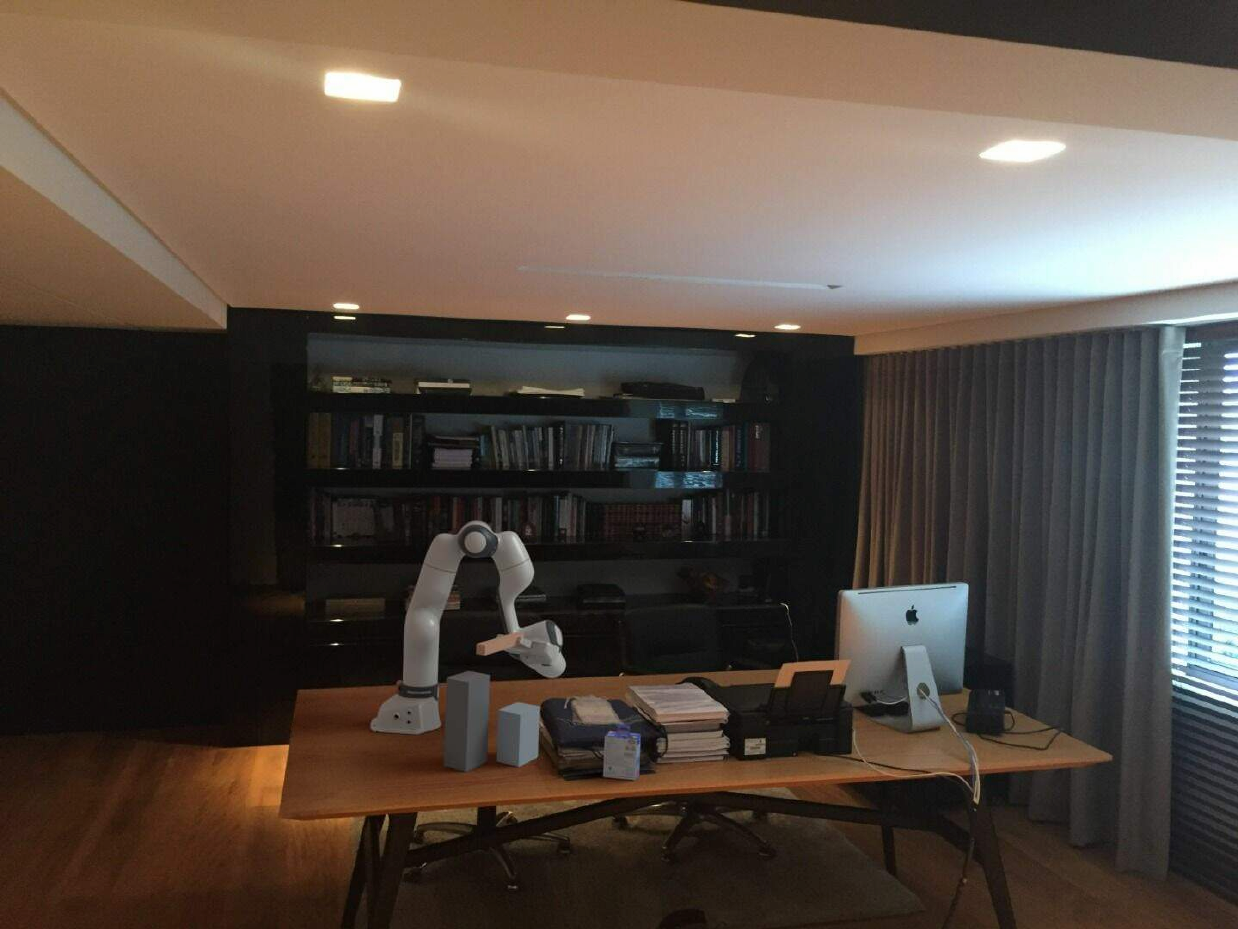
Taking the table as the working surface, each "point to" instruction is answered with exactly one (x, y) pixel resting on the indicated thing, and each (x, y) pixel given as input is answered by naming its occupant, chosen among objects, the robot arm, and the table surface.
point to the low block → (518, 734)
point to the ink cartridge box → (621, 754)
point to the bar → (498, 644)
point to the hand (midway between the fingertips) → (513, 638)
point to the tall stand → (466, 720)
